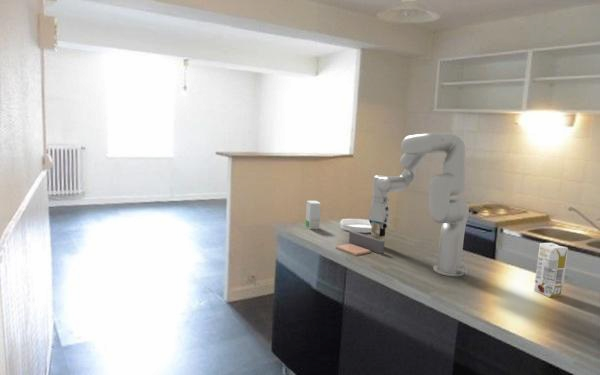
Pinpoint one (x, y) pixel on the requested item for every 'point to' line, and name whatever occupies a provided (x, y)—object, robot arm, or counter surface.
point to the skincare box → (313, 214)
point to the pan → (356, 225)
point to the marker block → (376, 231)
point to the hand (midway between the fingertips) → (378, 234)
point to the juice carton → (550, 269)
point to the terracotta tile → (353, 249)
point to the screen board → (366, 242)
